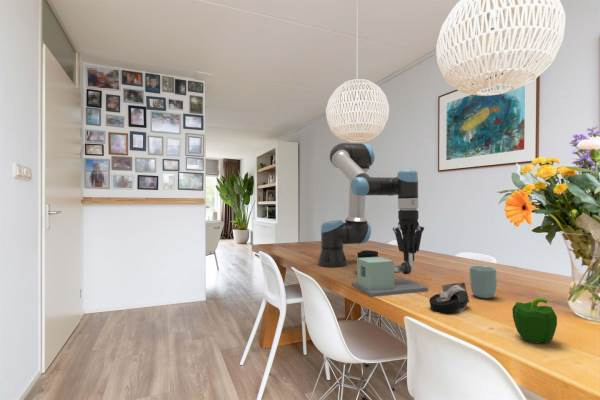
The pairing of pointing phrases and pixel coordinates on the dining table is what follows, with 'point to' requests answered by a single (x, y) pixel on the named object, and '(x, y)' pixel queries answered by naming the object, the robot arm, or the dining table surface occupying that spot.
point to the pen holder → (367, 254)
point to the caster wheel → (450, 298)
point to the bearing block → (382, 278)
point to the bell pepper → (535, 321)
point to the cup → (483, 281)
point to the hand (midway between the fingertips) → (409, 269)
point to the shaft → (403, 268)
